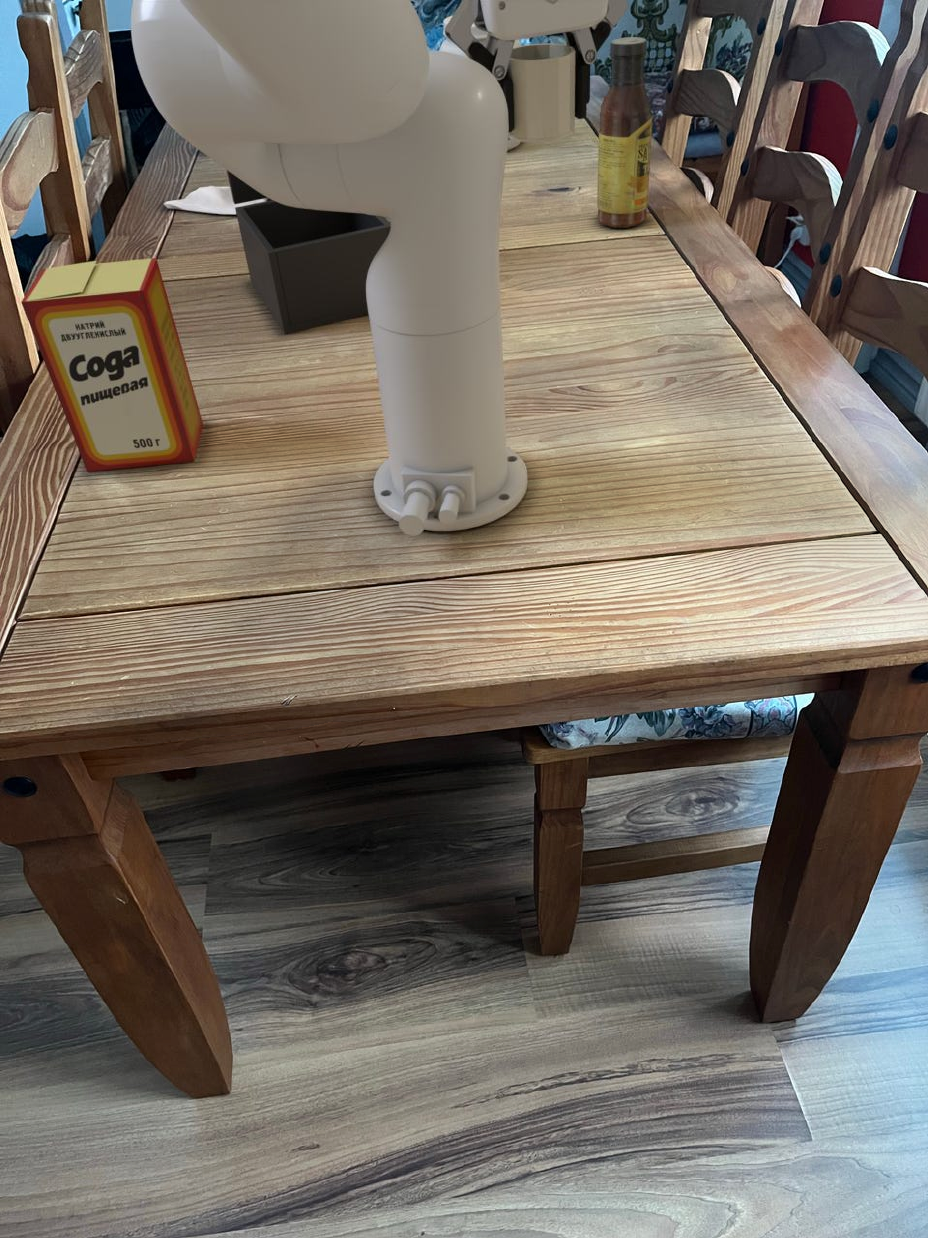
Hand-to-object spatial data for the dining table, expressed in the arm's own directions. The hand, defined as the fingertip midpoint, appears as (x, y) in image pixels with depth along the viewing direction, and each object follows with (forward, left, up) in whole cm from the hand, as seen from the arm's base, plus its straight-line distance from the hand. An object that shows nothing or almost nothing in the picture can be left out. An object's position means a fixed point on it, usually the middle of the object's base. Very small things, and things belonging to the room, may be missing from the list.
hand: (539, 119), depth 81 cm
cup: (0, 0, -1) cm, 1 cm away
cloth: (+47, +45, -22) cm, 69 cm away
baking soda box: (-18, +34, -22) cm, 45 cm away
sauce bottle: (+37, -7, -22) cm, 43 cm away
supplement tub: (+70, +15, -22) cm, 75 cm away
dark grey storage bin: (+15, +26, -22) cm, 37 cm away
